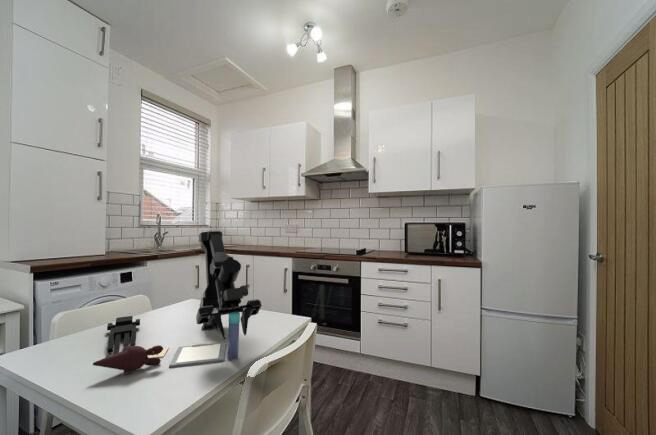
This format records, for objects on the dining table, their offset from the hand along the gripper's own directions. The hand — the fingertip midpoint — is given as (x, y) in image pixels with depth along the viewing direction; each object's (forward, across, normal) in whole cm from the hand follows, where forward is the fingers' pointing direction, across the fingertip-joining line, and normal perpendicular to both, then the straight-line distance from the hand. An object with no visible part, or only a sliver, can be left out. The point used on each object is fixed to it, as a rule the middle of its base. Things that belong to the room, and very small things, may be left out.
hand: (234, 336), depth 80 cm
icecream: (-1, -25, +10) cm, 27 cm away
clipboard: (-1, -8, +11) cm, 13 cm away
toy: (-16, -27, +26) cm, 41 cm away
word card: (-6, -18, +16) cm, 25 cm away
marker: (+4, 0, +6) cm, 7 cm away
